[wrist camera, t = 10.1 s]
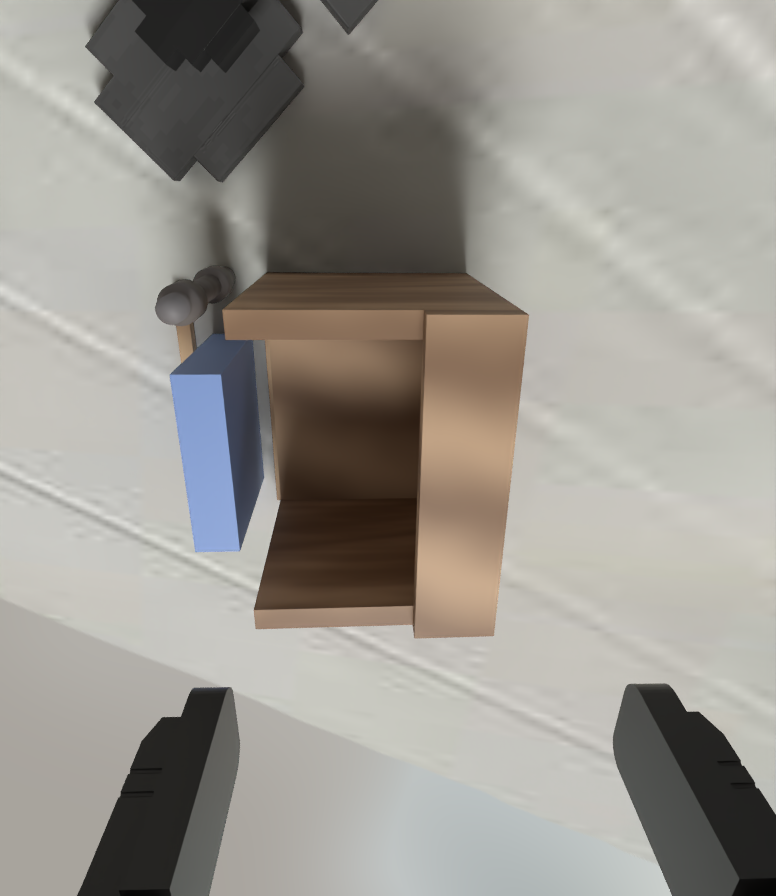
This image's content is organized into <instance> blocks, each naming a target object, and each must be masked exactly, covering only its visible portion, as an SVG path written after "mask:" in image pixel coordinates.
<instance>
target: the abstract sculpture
mask: <svg viewBox="0 0 776 896" xmlns="http://www.w3.org/2000/svg"><path fill="white" fill-rule="evenodd" d="M377 1H378V0H321V2H322V3H323V4H324V5H325V7H326V8H327V9H328V10H329V11H330V13H331V14H332V15H333V16H334V18H335V19H336V20H337V21H338V23H339V24H340V25H341V26H342V28H343V29H344V30H345V31H346V33H347V34H348V35H349V34H350V33H351V31H352V30H353V29H354V28H355V27H356V26H357V24H358V23H359V22H360V21H361V20H362V19H363V17H364V16H365V15H366V14H367V13H368V12H369V10H370V9H371V8H372V7H373V6H374V5H375V3H376V2H377ZM301 34H302V29H301V27H300V25H299V24H298V23H297V22H296V21H295V19H294V18H293V17H292V16H291V15H290V13H289V12H288V11H287V10H286V9H285V7H284V6H283V5H282V4H281V3H280V1H279V0H118V2H117V3H116V4H115V6H114V7H113V9H112V10H111V11H110V13H109V14H108V16H107V17H106V18H105V20H104V21H103V22H102V24H101V25H100V27H99V28H98V29H97V31H96V32H95V34H94V35H93V36H92V38H91V39H90V41H89V42H88V43H87V45H86V46H85V47H86V48H87V49H88V50H89V51H90V52H91V53H92V54H93V55H94V56H95V57H96V58H97V59H98V60H99V61H100V62H101V63H102V64H103V65H104V66H105V67H106V68H107V69H108V70H109V71H110V72H111V73H112V74H113V75H114V76H113V77H112V79H111V80H110V81H109V83H108V84H107V85H106V87H105V88H104V89H103V91H102V92H101V93H100V95H99V96H98V97H97V99H96V100H95V101H94V103H95V104H96V105H97V106H98V107H100V108H101V109H102V110H103V111H104V112H105V113H106V114H107V115H108V116H109V117H110V118H111V119H112V120H113V121H114V122H115V123H116V124H117V125H118V126H119V127H120V128H121V129H122V130H123V131H124V132H125V133H126V134H127V135H128V136H129V137H130V138H131V139H132V140H133V141H134V142H135V143H136V144H137V145H138V146H139V147H140V148H141V149H142V150H143V151H144V152H145V153H146V154H147V155H148V156H149V157H150V158H151V159H152V160H153V161H154V162H155V163H156V164H157V165H158V166H159V167H161V168H162V169H163V170H164V171H165V172H166V173H167V174H168V175H169V176H170V177H171V178H172V179H173V180H174V181H180V180H181V179H182V178H183V177H184V176H185V174H186V173H187V172H188V171H189V169H190V168H191V167H192V166H193V165H194V163H195V162H196V161H198V162H199V163H200V164H201V165H202V166H203V167H204V168H205V169H206V170H207V171H208V172H209V173H210V174H211V175H212V176H213V177H214V178H215V179H216V180H217V181H218V182H223V181H224V180H225V179H226V178H227V177H228V175H229V174H230V173H231V172H232V171H233V170H234V168H235V167H236V166H237V165H238V164H239V163H240V161H241V160H242V159H243V158H244V157H245V156H246V154H247V153H248V152H249V151H250V150H251V149H252V147H253V146H254V145H255V144H256V143H257V141H258V140H259V139H260V138H261V137H262V136H263V134H264V133H265V132H266V131H267V130H268V129H269V127H270V126H271V125H272V124H273V123H274V122H275V120H276V119H277V118H278V117H279V116H280V115H281V113H282V112H283V111H284V110H285V109H286V108H287V106H288V105H289V104H290V103H291V102H292V101H293V99H294V98H295V97H296V96H297V95H298V93H299V92H300V91H301V90H302V89H303V88H304V85H303V83H302V81H301V80H300V79H299V78H298V77H297V76H296V74H295V73H294V72H293V71H292V70H291V69H290V67H289V66H288V65H287V64H286V63H285V62H284V61H283V59H282V57H283V56H284V55H285V54H286V53H287V51H288V50H289V49H290V48H291V47H292V45H293V44H294V43H295V42H296V41H297V39H298V38H299V37H300V36H301Z"/></svg>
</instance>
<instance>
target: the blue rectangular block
mask: <svg viewBox="0 0 776 896" xmlns="http://www.w3.org/2000/svg"><path fill="white" fill-rule="evenodd" d="M170 381H171V388H172V395H173V401H174V408H175V415H176V422H177V429H178V436H179V443H180V449H181V456H182V463H183V470H184V477H185V484H186V491H187V498H188V504H189V511H190V518H191V525H192V532H193V539H194V546H195V552H223V551H240V550H241V546H242V543H243V540H244V537H245V534H246V531H247V528H248V525H249V522H250V519H251V516H252V513H253V510H254V507H255V504H256V501H257V497H258V494H259V491H260V488H261V485H262V482H263V479H264V472H263V460H262V448H261V436H260V424H259V412H258V400H257V388H256V376H255V364H254V352H253V340H225V334H212V335H211V336H210V337H209V338H208V339H207V340H206V341H205V342H204V343H203V344H201V345H200V346H199V347H198V348H197V349H196V350H195V351H194V352H193V353H192V354H191V355H190V356H189V357H188V358H187V359H186V360H185V361H184V362H182V363H181V364H180V365H179V366H178V367H177V368H176V369H175V370H174V371H173V372H172V373H171V374H170Z"/></svg>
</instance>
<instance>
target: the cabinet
mask: <svg viewBox="0 0 776 896" xmlns="http://www.w3.org/2000/svg"><path fill="white" fill-rule="evenodd" d="M234 282H235V274H234V272H233V271H232V270H231V269H230V268H228V267H220V266H210V267H207V268H205V269H203V270H201V271H199V272H198V273H197V274H196V275H195V277H194V280H193V281H191V280H180V281H177V282H175V283H173V284H171V285H169V286H167V287H165V288H163V289H162V290H161V292H160V293H159V295H158V298H157V303H156V306H155V311H156V314H157V316H158V318H159V319H160V320H161V321H162V322H164V323H166V324H169V325H175V326H176V328H177V335H178V342H179V350H180V357H181V363H182V362H184V361H185V360H186V359H187V358H188V357H189V356H190V355H191V354H192V353H193V352H194V351H195V350H196V341H195V333H194V325H193V322H194V321H195V320H196V319H198V318H199V317H200V316H202V315H203V314H204V312H205V311H206V309H207V306H208V303H217V302H220V301H221V300H223V299H224V298H225V297H227V296H228V295H229V294H230V293H231V291H232V288H233V284H234ZM222 312H223V322H224V331H225V340H265V347H266V360H267V373H268V386H269V399H270V412H271V425H272V439H273V452H274V465H275V478H276V491H277V500H281V501H280V505H279V509H278V513H277V518H276V522H275V526H274V530H273V534H272V538H271V542H270V546H269V550H268V554H267V558H266V562H265V566H264V571H263V575H262V579H261V583H260V587H259V591H258V595H257V599H256V603H255V607H254V617H255V627H256V629H278V628H313V627H348V626H384V625H413V631H414V638H446V637H479V636H494V629H495V620H496V611H497V602H498V593H499V583H500V574H501V565H502V556H503V547H504V538H505V529H506V520H507V510H508V501H509V492H510V483H511V474H512V465H513V456H514V447H515V437H516V428H517V419H518V410H519V401H520V392H521V383H522V374H523V365H524V355H525V346H526V337H527V328H528V319H529V315H528V314H527V313H525V312H524V311H522V310H521V309H519V308H518V307H516V306H515V305H513V304H512V303H510V302H509V301H507V300H506V299H504V298H503V297H501V296H500V295H498V294H497V293H495V292H494V291H492V290H491V289H489V288H488V287H486V286H485V285H483V284H482V283H480V282H479V281H477V280H476V279H474V278H473V277H471V276H470V275H468V274H467V273H304V272H267V273H266V274H264V275H263V276H262V277H261V278H260V279H258V280H257V281H256V282H255V283H254V284H252V285H251V286H250V287H249V288H248V289H246V290H245V291H244V292H243V293H242V294H241V295H239V296H238V297H237V298H236V299H235V300H233V301H232V302H231V303H230V304H229V305H227V306H226V307H225V308H224V309H223V310H222Z"/></svg>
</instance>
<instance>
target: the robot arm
mask: <svg viewBox="0 0 776 896" xmlns="http://www.w3.org/2000/svg"><path fill="white" fill-rule="evenodd" d="M239 749H240V740H239V732H238V724H237V718H236V710H235V702H234V696H233V690H232V688H231V687H217V688H193V689H192V690H191V692H190V694H189V696H188V699H187V702H186V704H185V707H184V710H183V713H182V716H181V717H163V718H161V720H160V721H159V722H158V723H157V724H156V726H154V728H153V729H152V730H151V731H150V732H149V733H148V735H147V736H146V737H145V738H144V739H143V740H142V742H141V744H140V747H139V749H138V752H137V754H136V756H135V759H134V761H133V764H132V766H131V768H130V774H128V776H127V778H126V780H125V783H124V785H123V788H122V790H121V796H120V798H118V800H117V802H116V805H115V807H114V809H113V812H112V814H111V817H110V819H109V821H108V824H107V826H106V829H105V831H104V833H103V836H102V838H101V841H100V843H99V846H98V848H97V851H96V853H95V855H94V858H93V860H92V862H91V865H90V867H89V870H88V872H87V875H86V877H85V879H84V882H83V884H82V886H81V888H80V891H79V893H78V895H77V896H209V893H210V888H211V884H212V879H213V875H214V871H215V866H216V862H217V858H218V854H219V849H220V845H221V840H222V836H223V831H224V827H225V823H226V818H227V814H228V810H229V805H230V801H231V797H232V792H233V788H234V784H235V779H236V775H237V770H238V763H239V752H240V750H239ZM613 750H614V756H615V760H616V764H617V767H618V770H619V772H620V774H621V777H622V779H623V781H624V784H625V786H626V788H627V791H628V793H629V795H630V798H631V800H632V803H633V805H634V807H635V810H636V812H637V814H638V817H639V819H640V821H641V824H642V826H643V828H644V831H645V833H646V835H647V838H648V840H649V842H650V845H651V847H652V849H653V852H654V854H655V856H656V859H657V861H658V863H659V866H660V868H661V870H662V873H663V875H664V877H665V880H666V882H667V884H668V887H669V889H670V892H671V894H672V896H776V814H775V813H774V811H773V810H772V808H771V807H770V805H769V804H768V802H767V800H766V799H765V797H764V796H763V794H762V793H761V791H760V790H759V788H756V787H755V782H754V780H753V779H752V777H751V776H750V774H749V773H748V771H747V770H746V768H745V767H744V766H742V765H741V760H740V759H739V757H738V756H737V754H736V753H735V751H734V750H733V748H732V746H731V745H730V743H729V742H728V740H727V739H726V737H725V736H724V734H723V733H722V732H721V731H719V730H718V729H717V728H716V727H715V726H714V725H713V724H712V723H711V722H710V721H708V720H707V719H706V718H705V717H704V716H703V715H702V714H701V713H700V712H687V711H686V710H685V708H684V706H683V705H682V703H681V701H680V700H679V698H678V696H677V695H676V693H675V692H674V690H673V689H672V688H671V687H670V686H669V685H668V684H629V685H627V686H626V688H625V691H624V695H623V699H622V703H621V707H620V711H619V715H618V719H617V723H616V726H615V730H614V735H613Z"/></svg>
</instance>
